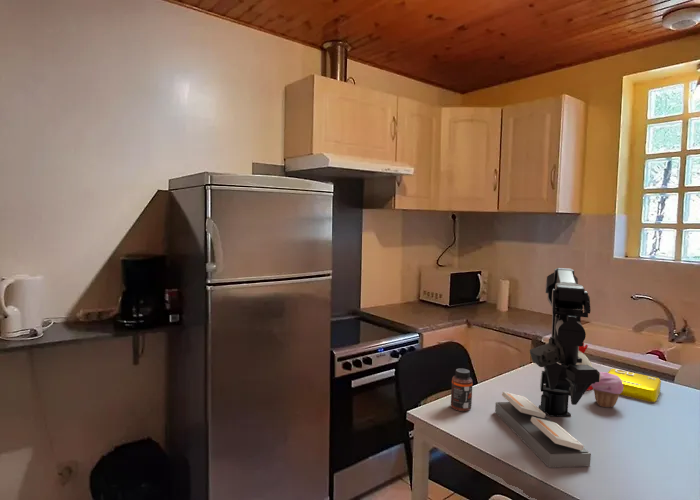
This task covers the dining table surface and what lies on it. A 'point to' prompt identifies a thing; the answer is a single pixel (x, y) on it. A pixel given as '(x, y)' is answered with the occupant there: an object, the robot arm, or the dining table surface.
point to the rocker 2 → (557, 433)
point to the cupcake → (607, 389)
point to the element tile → (638, 385)
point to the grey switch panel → (541, 439)
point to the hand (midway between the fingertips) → (562, 396)
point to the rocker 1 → (523, 404)
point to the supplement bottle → (461, 390)
